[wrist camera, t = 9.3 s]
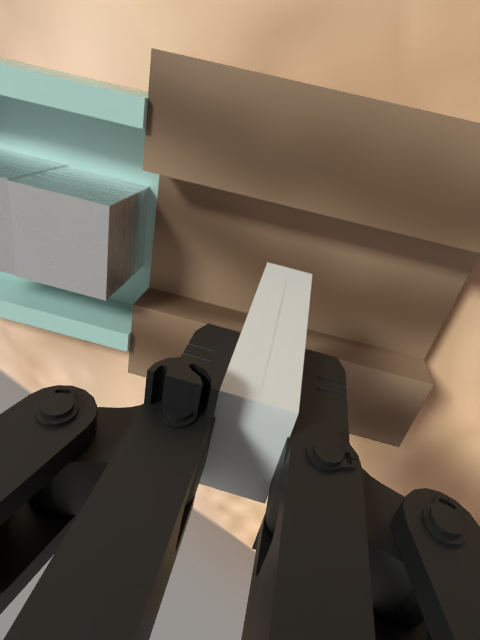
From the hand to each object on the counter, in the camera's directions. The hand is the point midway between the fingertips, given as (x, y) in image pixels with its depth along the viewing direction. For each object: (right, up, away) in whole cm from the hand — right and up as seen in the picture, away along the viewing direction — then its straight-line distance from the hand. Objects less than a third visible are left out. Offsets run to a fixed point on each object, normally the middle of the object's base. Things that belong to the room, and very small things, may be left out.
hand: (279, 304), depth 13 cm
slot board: (+2, +2, +6) cm, 6 cm away
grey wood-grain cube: (-8, +4, +6) cm, 11 cm away
